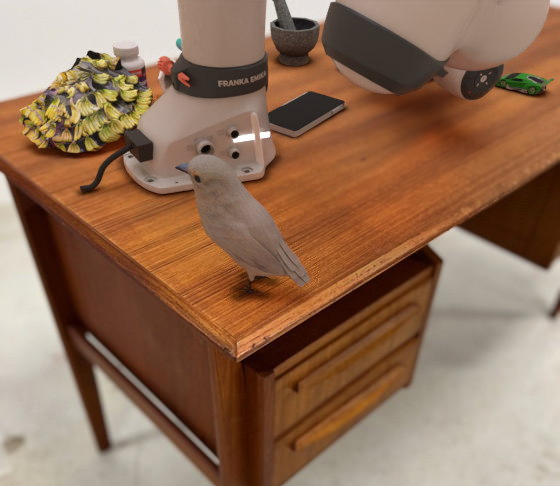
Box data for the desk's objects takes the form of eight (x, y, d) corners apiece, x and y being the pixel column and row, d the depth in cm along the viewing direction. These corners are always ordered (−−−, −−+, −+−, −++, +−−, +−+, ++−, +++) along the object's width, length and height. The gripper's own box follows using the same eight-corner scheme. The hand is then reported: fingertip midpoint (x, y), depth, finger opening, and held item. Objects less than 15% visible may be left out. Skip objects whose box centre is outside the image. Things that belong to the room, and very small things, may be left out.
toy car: (489, 85, 108) (492, 72, 107) (499, 78, 111) (502, 66, 109) (542, 97, 104) (546, 84, 102) (550, 90, 106) (554, 77, 105)
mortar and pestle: (327, 61, 116) (331, -5, 108) (294, 72, 112) (297, 4, 103) (288, 48, 122) (289, -16, 114) (256, 57, 117) (255, -8, 109)
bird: (203, 260, 66) (182, 139, 56) (315, 280, 63) (316, 156, 52) (185, 287, 63) (160, 164, 52) (303, 310, 59) (301, 183, 49)
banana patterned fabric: (59, 183, 84) (36, 153, 78) (15, 124, 91) (-9, 92, 85) (170, 112, 87) (156, 78, 82) (120, 60, 94) (104, 25, 89)
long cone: (199, 64, 116) (201, 92, 100) (169, 74, 116) (167, 104, 101) (188, 35, 112) (189, 59, 97) (158, 45, 113) (154, 71, 97)
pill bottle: (137, 113, 96) (128, 52, 89) (111, 107, 97) (100, 46, 91) (156, 101, 99) (148, 42, 93) (131, 96, 101) (121, 37, 94)
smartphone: (256, 118, 93) (308, 90, 102) (256, 125, 94) (308, 96, 102) (296, 131, 89) (347, 101, 98) (296, 139, 90) (346, 108, 99)
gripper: (499, 19, 93) (460, -3, 102) (381, 25, 89) (352, 1, 99) (489, 59, 97) (452, 34, 107) (375, 67, 93) (349, 40, 103)
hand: (403, 19), depth 103 cm, fingers open, 8 cm apart
